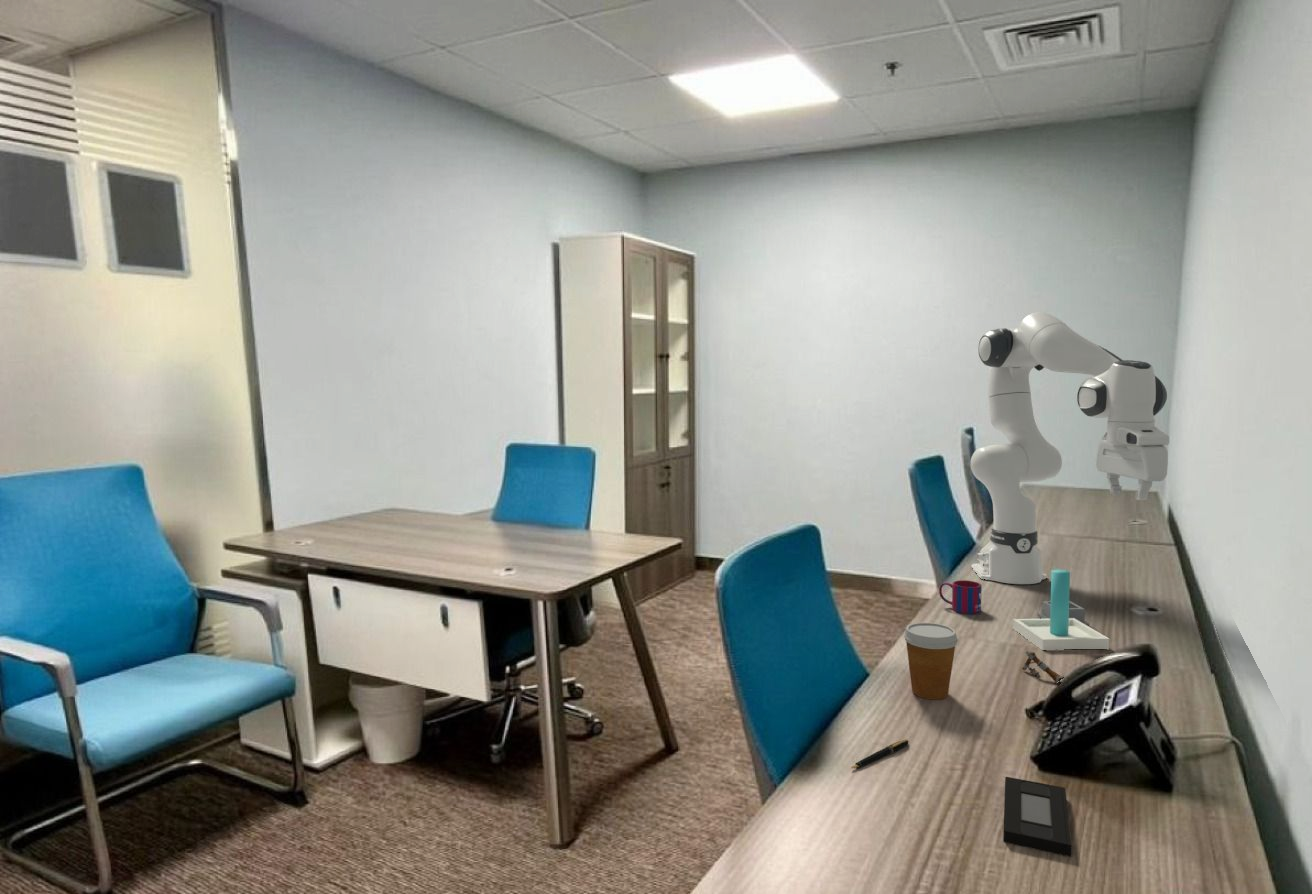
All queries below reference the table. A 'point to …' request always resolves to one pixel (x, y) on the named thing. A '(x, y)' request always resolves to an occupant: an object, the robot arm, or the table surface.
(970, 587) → the cup
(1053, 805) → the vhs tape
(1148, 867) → the table surface
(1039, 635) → the tray
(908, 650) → the disposable coffee cup
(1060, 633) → the dowel
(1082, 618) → the holder
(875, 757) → the fountain pen
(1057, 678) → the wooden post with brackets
